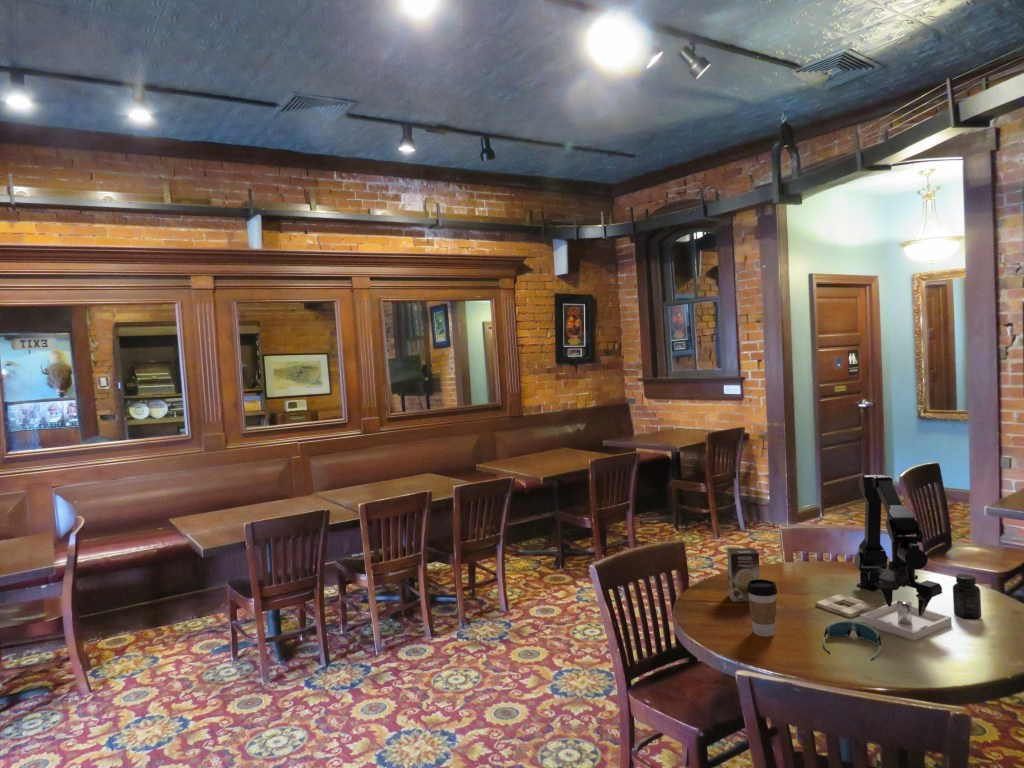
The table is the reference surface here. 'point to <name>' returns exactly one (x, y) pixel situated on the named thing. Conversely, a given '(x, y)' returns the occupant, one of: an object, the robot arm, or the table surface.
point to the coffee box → (741, 571)
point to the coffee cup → (762, 606)
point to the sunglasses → (847, 626)
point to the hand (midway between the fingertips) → (904, 610)
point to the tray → (920, 626)
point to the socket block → (852, 611)
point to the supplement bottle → (966, 598)
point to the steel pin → (904, 612)
